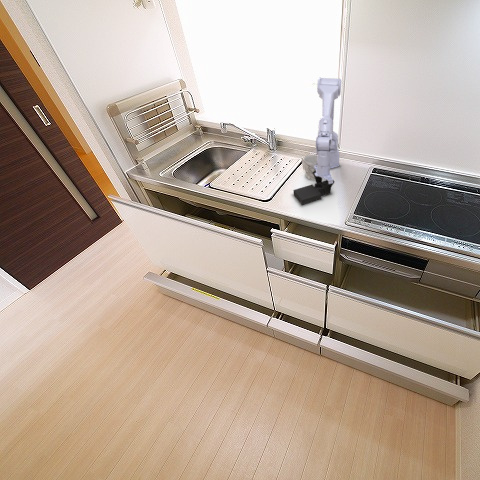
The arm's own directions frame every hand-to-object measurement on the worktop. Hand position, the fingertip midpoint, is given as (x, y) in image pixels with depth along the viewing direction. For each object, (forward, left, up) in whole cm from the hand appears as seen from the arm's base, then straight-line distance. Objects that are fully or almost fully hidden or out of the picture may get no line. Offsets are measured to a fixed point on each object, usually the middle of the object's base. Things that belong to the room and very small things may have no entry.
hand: (322, 189), depth 124 cm
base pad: (+8, 0, -2) cm, 9 cm away
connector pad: (0, 0, -2) cm, 2 cm away
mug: (-2, -16, -2) cm, 16 cm away
